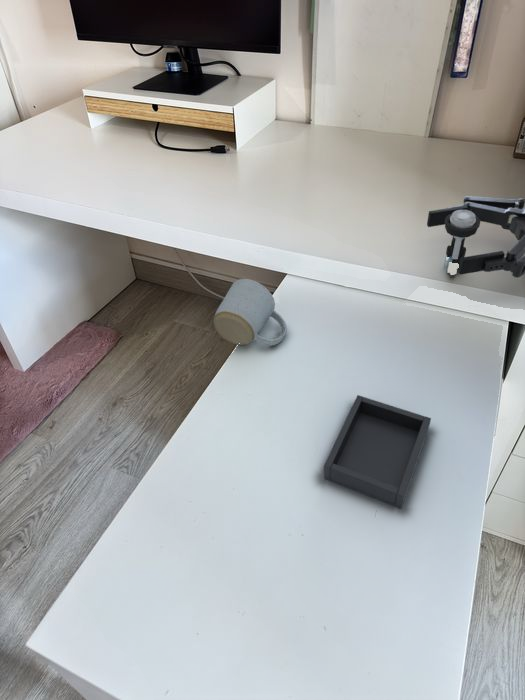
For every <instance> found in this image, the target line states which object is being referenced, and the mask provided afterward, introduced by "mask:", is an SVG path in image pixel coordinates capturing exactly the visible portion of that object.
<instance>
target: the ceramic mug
mask: <svg viewBox="0 0 525 700" xmlns="http://www.w3.org/2000/svg"><path fill="white" fill-rule="evenodd" d="M275 308H276V301H275V298H274V296H273V294H272V293H271V291H269V289H267V288H266V286H265V285H263V284H261V283H259V282H258V281H255V280H252V279H249V278H240V279H237V280H235V281H234V282H233V283H232V284H231V286H230V288H229V289H228V292H226V294H225V296H224V298H223V299H222V301H221V303H220V304H219V306H218V307H217V309H216V312H215V315H214V316H213V326H214V329H215V331H216V333H217V334H218V335H219V336H220V337H221V338H222V339H223V340H225V341H226V342H228V343H230V344H233V345H238V346H244V345H248V344H250V343H252V342H253V341H255V342H257V343H258V344H261V345H264V346H269V347H271V346H276V345H278V344H280V343H281V342H282V341H283V339H284V338H285V335H286V334H287V330H288V328H287V323H286V320H285V319H284V318H283V316H281V315H280V314H279V313H278V312H277V311H276V310H275ZM270 317H271V318H272V319H274V320H275V322H277V324H279V326H280V328H281V332H280V334H279V335H278V336H276V337H275V338H273V339H269V338H266V337H263V336H261V335H259V334H260V332H261V331H262V329H263V328H264V326H265V324H266V323H267V321H269V319H270ZM239 343H240V344H239Z"/></svg>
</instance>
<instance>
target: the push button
mask: <svg viewBox="0 0 525 700" xmlns="http://www.w3.org/2000/svg"><path fill="white" fill-rule="evenodd" d="M480 225H481V221H480V220H479V218H478V217H477V216H475V214H474V213H473V212H471V211H468V210H457V211H455V212H453V213H452V214H450V215H448V216H447V217H446V218H445V225H444V228H445V229H444V230H445V231H446V233H447V234H448V235H450V236H452V239H451V242H450V245H449V244H448V245H447V247H446V249H445V250H446V251H445V256H447V257H450V258H449V260H448V262H452V263H458V264H460V260H461V258H462V257H466V253H467V248H466V246H465V240H466V238H469V237H471V236H473V235H475V234H476V233H477V231H478V230H479V228H480V227H481V226H480Z"/></svg>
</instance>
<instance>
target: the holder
mask: <svg viewBox="0 0 525 700" xmlns="http://www.w3.org/2000/svg"><path fill="white" fill-rule="evenodd" d="M431 420H432V417H429V416H424V415H422V414H419V413H416V412H413V411H409V410H406V409H403V408H400V407H397V406H393V405H390V404H387V403H385V402H381V401H378V400H375V399H371V398H368V397H365V396H362V395H359V394H357V395H356V397H355V400H354V402H353V404H352V405H351V408H350V410H349V413H348V414H347V417H346V419H345V421H344V423H343V425H342V426H341V429H340V431H339V433H338V435H337V437H336V440H335V442H334V444H333V446H332V448H331V450H330V452H329V454H328V456H327V459H326V461H325V462H324V465H323V477H324V478H323V479H325V480H327V481H330V482H332V483H334V484H338V485H340V486H342V487H345V488H347V489H350V490H352V491H354V492H358V493H360V494H363V495H365V496H368V497H371V498H372V499H375V500H378V501H380V502H382V503H386V504H388V505H391V506H393V507H396V508H398V509H402V508H403V505H404V503H405V500H406V497H407V494H408V491H409V488H410V485H411V483H412V479H413V477H414V474H415V471H416V468H417V464H418V461H419V459H420V457H421V453H422V450H423V448H424V444H425V442H426V440H427V439H426V438H427V436H428V433H429V429H430V424H431Z"/></svg>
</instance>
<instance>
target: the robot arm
mask: <svg viewBox="0 0 525 700" xmlns="http://www.w3.org/2000/svg"><path fill="white" fill-rule="evenodd" d="M457 210H468V211H471V212H473V213H474V214H475V216H477V217H478V218H479V220H480V222H483V223H486V224H487V223H488V224H492V225H495V226H501V228H502V229H503V230H507V231H509V232H511V234H513V235H514V236H515V239H516V240H517V242H516V244H515V245H514V246H513V247H512V248H511V249H510V250H509V251H507V252H506V253H505V251H503V250H499V251H493V252H487V253H481V254H474V255H469V256H464V257H462V258H461V260H460V264H459V268H458V271H457V274H459V275H465V274H466V275H467V274H473V273H479V272H484V273H490V272H494V271H496V272H497V271H505V272H511V276H512V277H514V278H516V279H517V278H521V277H522V276H523V275H525V198H522V197H521V198H519V197H518V198H501V197H499V198H497V197H485V196H471V195H465V196H464V197H463V202H462V204H460V205H455V206H449V207H446V208H441V209H435V210H434V209H433V210H429V211H428V214H427V222H426V226H427V227H428V228H432V227H438V226H445V218H446V217H447V216H448V215H450V214H452V213H453V212H455V211H457ZM511 216H512V218H511Z"/></svg>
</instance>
